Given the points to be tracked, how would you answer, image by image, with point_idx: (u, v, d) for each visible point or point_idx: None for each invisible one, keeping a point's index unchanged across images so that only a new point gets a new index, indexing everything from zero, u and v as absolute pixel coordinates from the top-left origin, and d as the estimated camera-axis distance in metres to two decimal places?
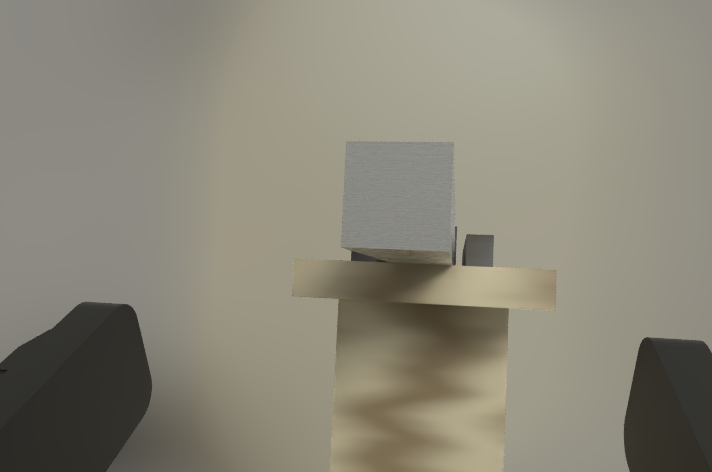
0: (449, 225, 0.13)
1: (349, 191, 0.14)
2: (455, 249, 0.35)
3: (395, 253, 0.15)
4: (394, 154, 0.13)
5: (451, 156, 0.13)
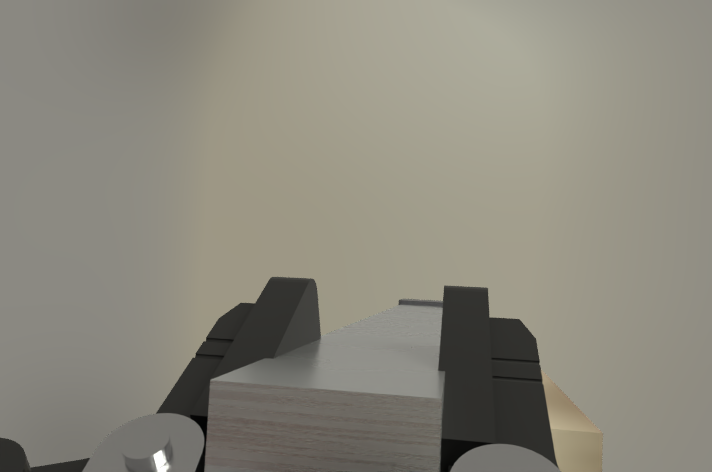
0: None
1: None
2: None
3: None
4: (311, 416, 0.06)
5: (436, 432, 0.06)
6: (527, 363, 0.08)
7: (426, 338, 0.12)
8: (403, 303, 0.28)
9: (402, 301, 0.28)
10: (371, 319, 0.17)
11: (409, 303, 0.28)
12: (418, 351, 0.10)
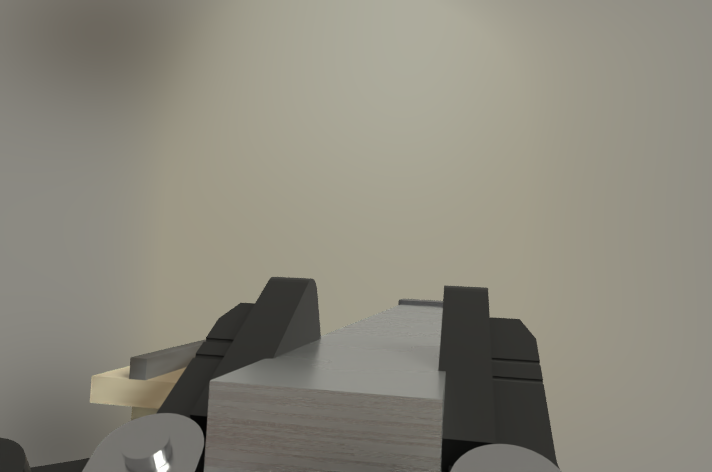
0: None
1: None
2: None
3: None
4: (311, 417, 0.06)
5: (437, 433, 0.06)
6: (527, 363, 0.08)
7: (426, 338, 0.12)
8: (403, 303, 0.28)
9: (402, 301, 0.28)
10: (371, 319, 0.17)
11: (409, 303, 0.28)
12: (418, 351, 0.10)
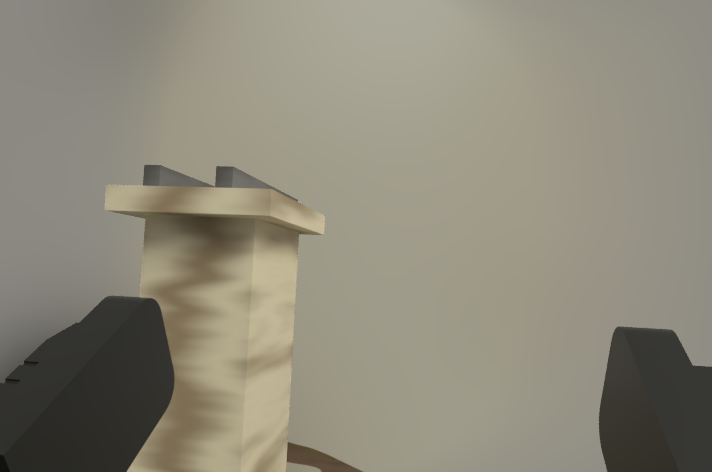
0: None
1: None
2: None
3: None
4: None
5: None
6: None
7: None
8: None
9: None
10: None
11: None
12: None
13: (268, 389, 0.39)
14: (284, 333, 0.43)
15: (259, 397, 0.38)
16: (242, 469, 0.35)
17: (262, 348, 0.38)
